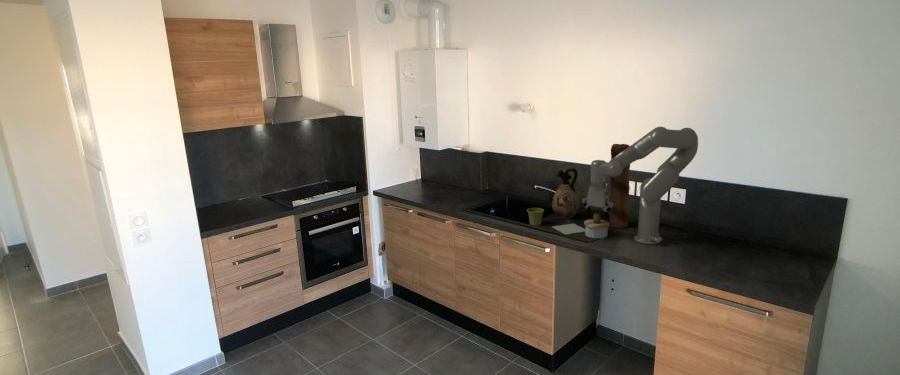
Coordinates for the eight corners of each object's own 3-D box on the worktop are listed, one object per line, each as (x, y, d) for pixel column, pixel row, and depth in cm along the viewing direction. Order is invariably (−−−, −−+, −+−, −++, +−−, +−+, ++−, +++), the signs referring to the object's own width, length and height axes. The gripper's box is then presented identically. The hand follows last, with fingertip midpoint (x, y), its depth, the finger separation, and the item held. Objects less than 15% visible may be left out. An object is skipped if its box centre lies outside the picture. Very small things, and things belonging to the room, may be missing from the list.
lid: (614, 226, 253) (615, 216, 251) (593, 230, 249) (594, 219, 247) (599, 220, 264) (599, 210, 263) (579, 223, 260) (579, 213, 259)
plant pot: (524, 226, 278) (524, 211, 276) (530, 221, 286) (530, 207, 284) (540, 228, 273) (541, 213, 271) (545, 223, 281) (546, 208, 279)
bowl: (611, 237, 255) (611, 226, 253) (593, 240, 251) (593, 229, 250) (598, 231, 265) (599, 220, 263) (581, 234, 261) (581, 223, 260)
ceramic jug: (551, 221, 285) (552, 170, 278) (551, 213, 300) (552, 164, 293) (582, 221, 282) (584, 170, 275) (580, 214, 297) (581, 164, 290)
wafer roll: (603, 224, 277) (607, 143, 267) (619, 221, 280) (623, 142, 270) (615, 229, 267) (619, 146, 257) (631, 226, 270) (636, 144, 260)
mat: (588, 232, 264) (588, 230, 264) (565, 235, 260) (565, 234, 260) (573, 224, 277) (573, 223, 277) (551, 228, 273) (551, 226, 273)
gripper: (617, 185, 248) (616, 218, 252) (586, 181, 260) (585, 212, 264) (610, 188, 243) (609, 222, 247) (578, 183, 255) (578, 215, 259)
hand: (596, 217), depth 256 cm, fingers open, 9 cm apart
